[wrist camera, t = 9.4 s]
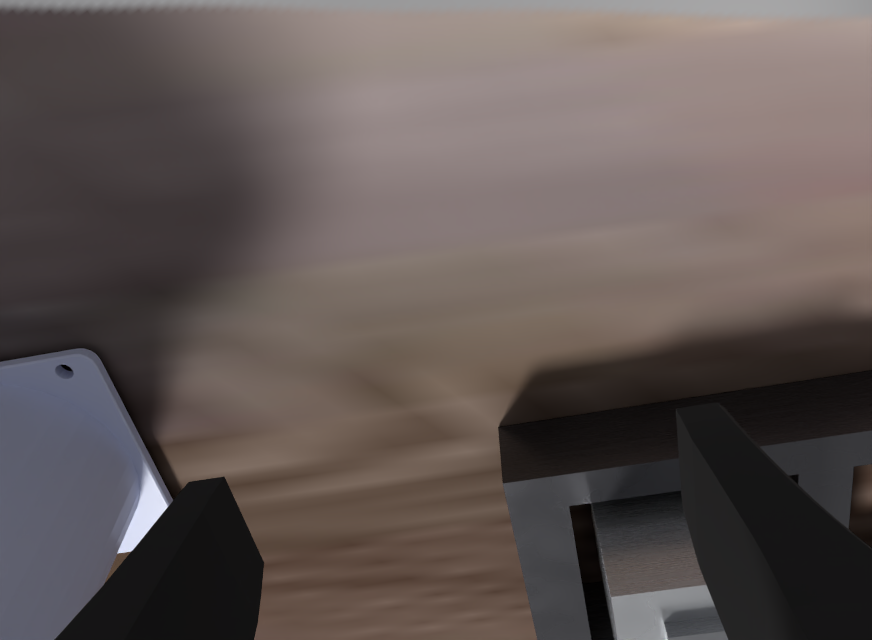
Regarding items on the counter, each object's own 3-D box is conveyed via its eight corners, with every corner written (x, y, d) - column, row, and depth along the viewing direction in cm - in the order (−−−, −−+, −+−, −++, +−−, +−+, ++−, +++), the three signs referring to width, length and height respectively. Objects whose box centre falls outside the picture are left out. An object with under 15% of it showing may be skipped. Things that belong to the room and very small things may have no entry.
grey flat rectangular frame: (538, 613, 31) (545, 673, 28) (498, 427, 26) (503, 483, 24) (1059, 548, 28) (1109, 608, 26) (1119, 332, 24) (1185, 385, 22)
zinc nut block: (598, 562, 29) (630, 723, 24) (582, 457, 27) (614, 612, 22) (743, 543, 29) (807, 703, 24) (742, 433, 26) (812, 587, 21)
